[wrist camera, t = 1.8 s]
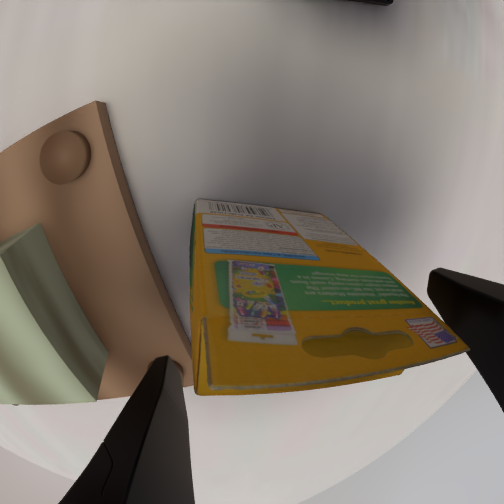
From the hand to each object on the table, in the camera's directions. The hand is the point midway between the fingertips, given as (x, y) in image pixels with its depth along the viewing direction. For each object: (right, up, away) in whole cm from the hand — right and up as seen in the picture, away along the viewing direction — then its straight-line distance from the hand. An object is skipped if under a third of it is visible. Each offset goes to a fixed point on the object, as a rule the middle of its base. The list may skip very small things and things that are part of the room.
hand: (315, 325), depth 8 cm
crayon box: (-2, +3, +8) cm, 9 cm away
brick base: (-17, -1, +6) cm, 18 cm away
